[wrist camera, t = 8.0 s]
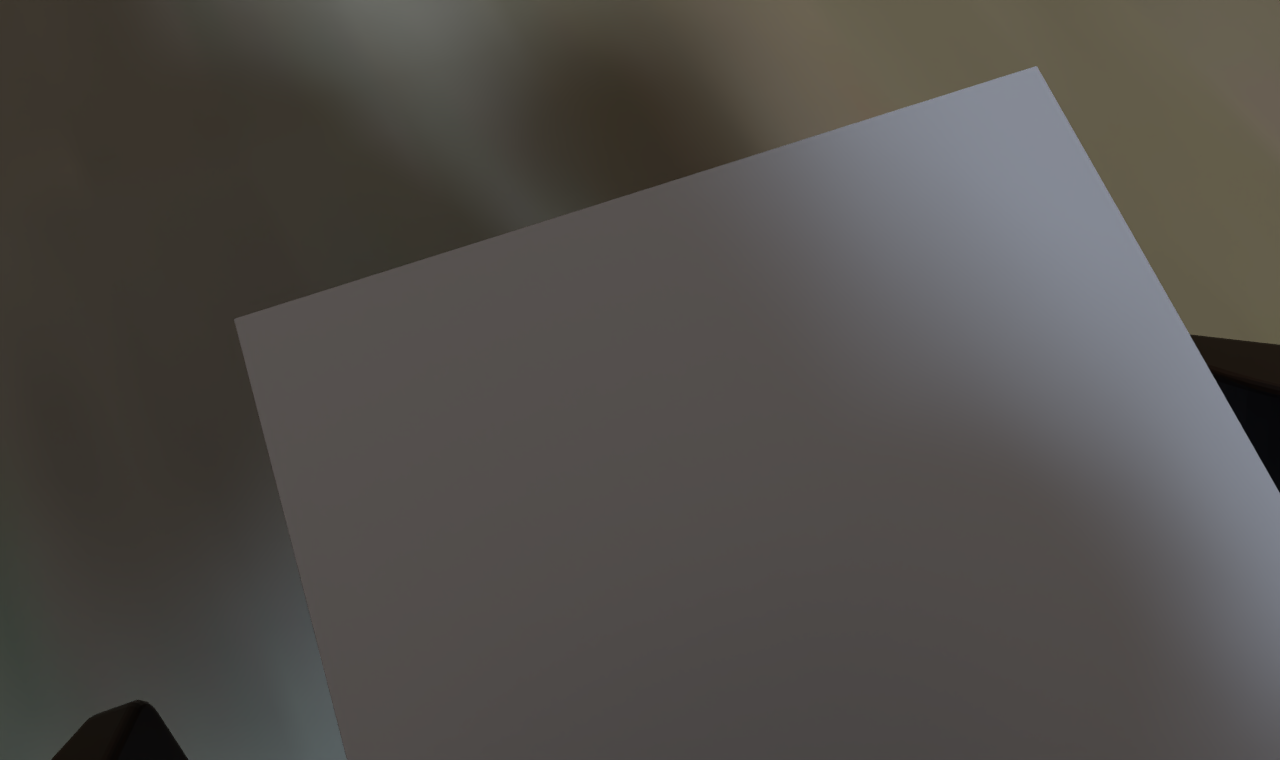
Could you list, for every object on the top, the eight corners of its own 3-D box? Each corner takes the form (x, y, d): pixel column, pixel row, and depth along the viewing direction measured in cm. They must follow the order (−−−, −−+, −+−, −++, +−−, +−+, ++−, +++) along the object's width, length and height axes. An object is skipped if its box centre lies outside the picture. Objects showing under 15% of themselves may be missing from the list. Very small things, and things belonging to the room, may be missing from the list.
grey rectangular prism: (853, 819, 16) (1691, 1214, 3) (616, 917, 15) (613, 1786, 3) (737, 525, 17) (1037, 65, 5) (517, 605, 17) (235, 318, 4)
